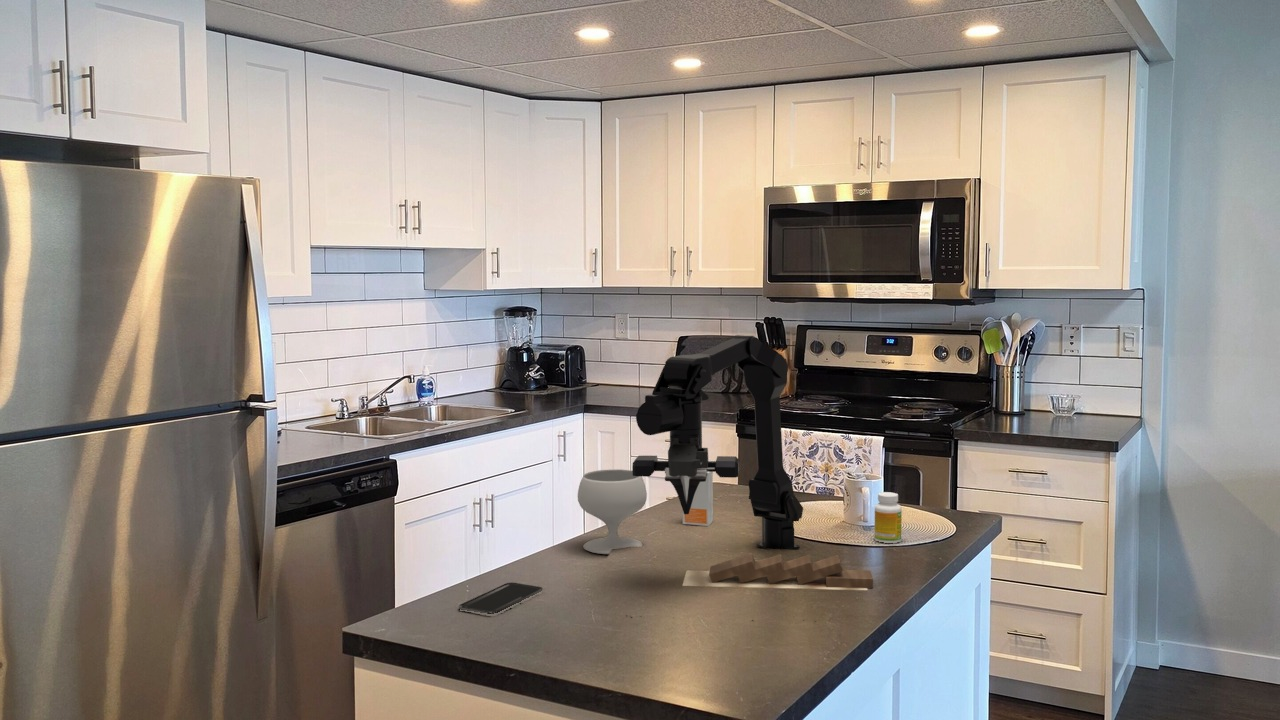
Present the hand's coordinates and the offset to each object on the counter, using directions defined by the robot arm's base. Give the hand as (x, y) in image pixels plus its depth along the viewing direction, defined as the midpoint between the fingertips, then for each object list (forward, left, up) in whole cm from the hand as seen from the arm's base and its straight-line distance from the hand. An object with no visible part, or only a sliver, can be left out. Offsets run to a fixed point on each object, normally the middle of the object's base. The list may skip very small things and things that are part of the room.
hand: (686, 513), depth 189 cm
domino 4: (+12, +16, -11) cm, 22 cm away
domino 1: (+3, +3, -11) cm, 12 cm away
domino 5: (+15, +19, -11) cm, 27 cm away
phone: (-9, -32, -13) cm, 36 cm away
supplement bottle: (-2, +50, -13) cm, 51 cm away
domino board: (+9, +12, -13) cm, 20 cm away
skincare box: (-35, +25, -13) cm, 45 cm away
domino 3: (+9, +12, -11) cm, 18 cm away
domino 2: (+6, +8, -11) cm, 14 cm away
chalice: (-28, 0, -13) cm, 31 cm away
